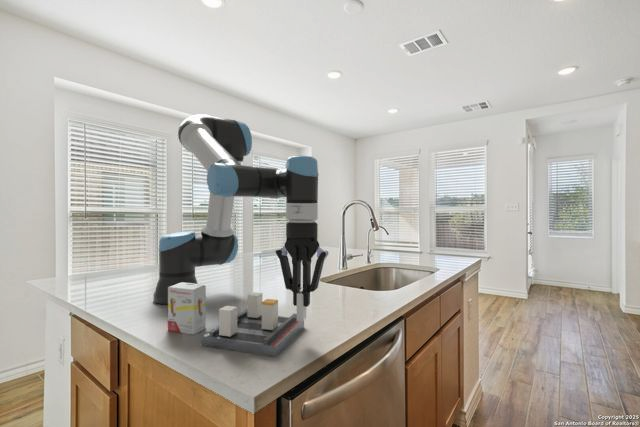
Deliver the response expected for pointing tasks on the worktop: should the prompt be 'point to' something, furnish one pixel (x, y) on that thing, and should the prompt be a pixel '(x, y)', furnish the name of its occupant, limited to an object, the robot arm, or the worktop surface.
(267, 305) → the block
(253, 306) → the block
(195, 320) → the ink box
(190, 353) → the worktop surface
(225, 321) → the block
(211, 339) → the panel
